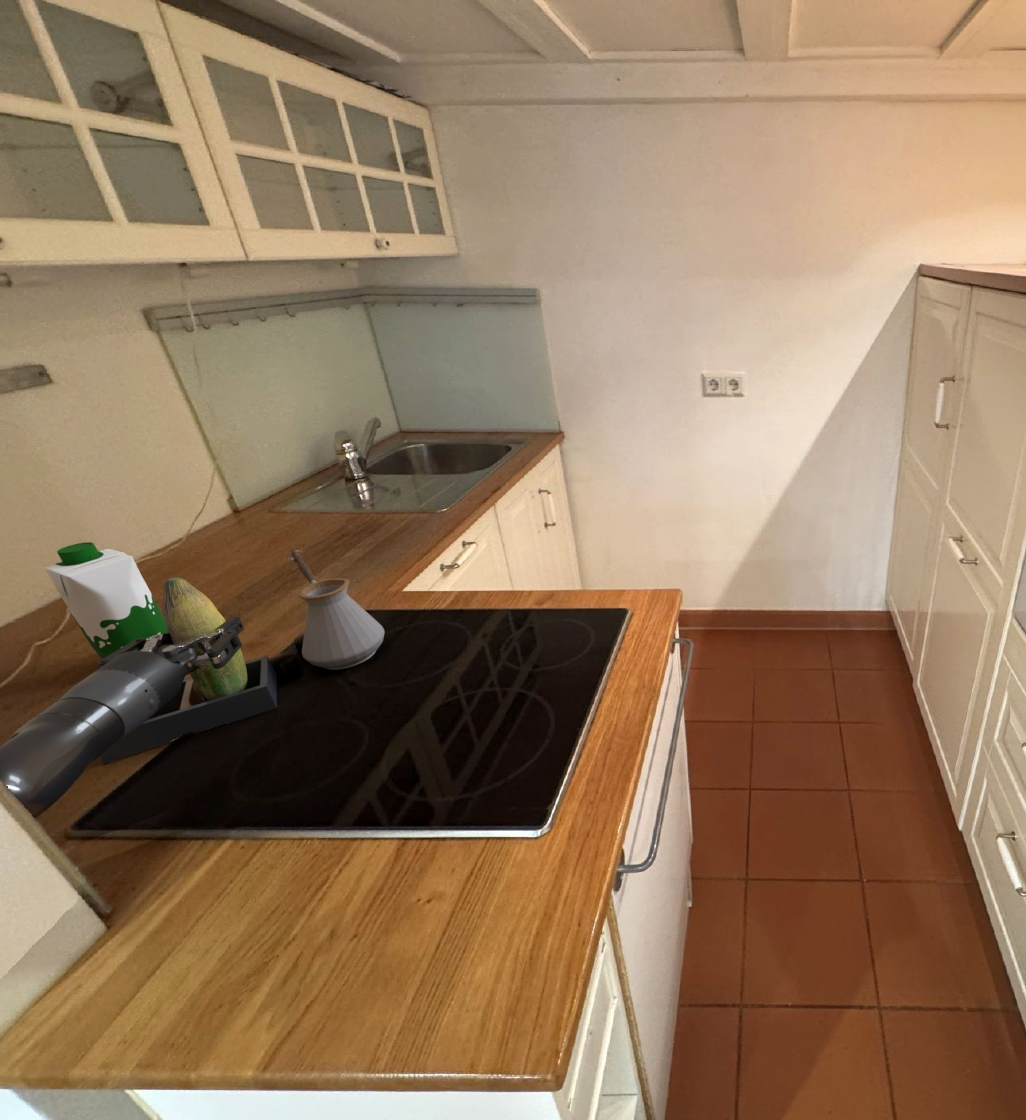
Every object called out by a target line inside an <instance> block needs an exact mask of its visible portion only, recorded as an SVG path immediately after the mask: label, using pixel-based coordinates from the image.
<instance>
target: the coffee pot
mask: <svg viewBox="0 0 1026 1120" xmlns="http://www.w3.org/2000/svg"><path fill="white" fill-rule="evenodd" d="M299 552H300V553H301V555H299ZM289 555H291V556H292V557H293V558H290V557H289ZM303 555H304V553H303V551H302V550H295V549H291V550H290V552H288V553H287V554H286V558H287V559H288V560H289V561H290V560H291V561H294V563H296V564H297V567H298V569H299V571H300V572H301V573H302V575H303V576H304V577H305V578H306V580H307V581H308V582H309V584H308V585H306V586H305V587H303V588H302V589H300V590H299V593H298V596H299V598H301V599H302V600H304V601H306V603H307V607H308V608H307V612H306V620H305V626H304V632H303V633H304V634H303V641H302V646H301V647H302V648H301V654H302V658H303V659H304V660H305V661H307V663H310V664H311V665H312V666H316V667H320V668H324V669H326V670H337V671H338V670H344V669H349V668H352V667H355V666H357V665H360V664H362V663H364V662H366V661H367V660H369V659H371V658H372V657H373V656H374V655H375V654H376V652H377V650H378V649H379V648H380V646H381V645H382V644H383V642H384V637H385V631H386V630H385V629H384V627H383V625H381V623H379V622H378V621H377V620H376V619H375V618H374V617H373V616H372V615H371V614H370V613H368V612H367V611H366V610H365V609H364V608H363V606H361V605H360V604H359V603H357V602H356V601H355V600H354V599H353V598H352V597H351V596H350V595H349V594H347V592H348V587H349V584H350V579H347V578H341V577H340V578H335V577H334V578H327V579H323V580H318V581H317V580H316V578H315V576H314V574H313V572H312V571H311V568H310V567H309V565H308V564H307V563H306V562H305V561H304V560H303V557H302V556H303Z"/></svg>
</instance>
